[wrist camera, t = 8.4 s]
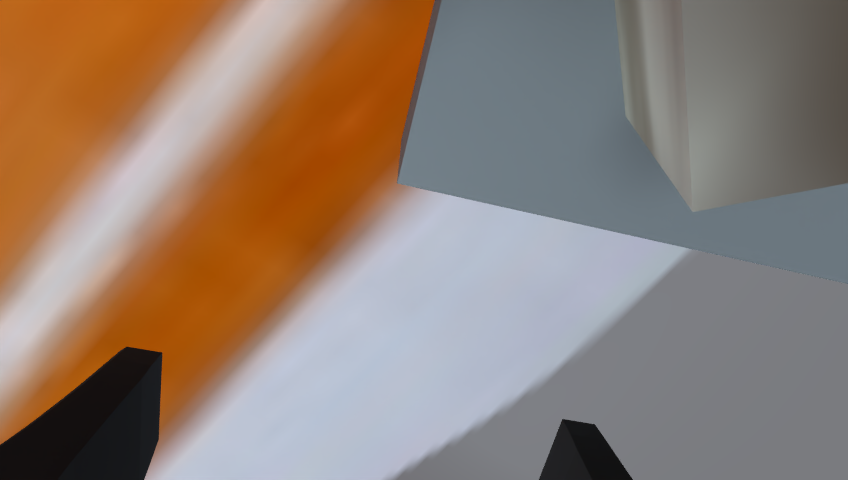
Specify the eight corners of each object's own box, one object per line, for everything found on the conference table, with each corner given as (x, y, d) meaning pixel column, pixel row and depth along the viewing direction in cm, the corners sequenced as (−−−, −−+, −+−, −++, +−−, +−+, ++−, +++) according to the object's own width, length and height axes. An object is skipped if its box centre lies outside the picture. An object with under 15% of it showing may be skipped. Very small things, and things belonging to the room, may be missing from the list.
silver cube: (625, 115, 17) (692, 212, 13) (603, -119, 15) (675, -102, 10) (851, 70, 16) (1002, 153, 12) (864, -182, 14) (1057, -190, 10)
